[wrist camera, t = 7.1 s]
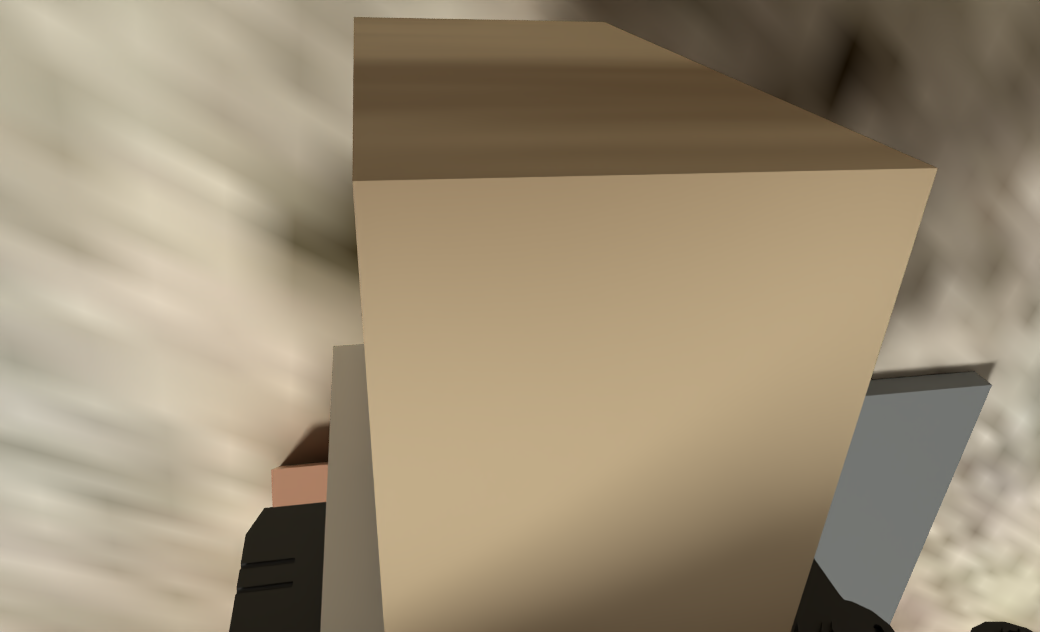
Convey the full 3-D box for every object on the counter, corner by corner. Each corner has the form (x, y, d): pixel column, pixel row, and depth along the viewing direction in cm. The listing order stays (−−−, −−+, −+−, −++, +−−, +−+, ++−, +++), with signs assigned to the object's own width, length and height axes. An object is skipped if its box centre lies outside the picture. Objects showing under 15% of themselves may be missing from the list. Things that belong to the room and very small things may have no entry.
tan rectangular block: (142, 13, 11) (-240, 194, 4) (772, 25, 13) (1274, 161, 6) (258, 621, 17) (192, 1110, 10) (668, 568, 19) (850, 949, 12)
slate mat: (664, 397, 23) (674, 413, 22) (974, 371, 25) (991, 384, 24) (614, 700, 30) (620, 718, 29) (856, 660, 32) (867, 676, 31)
